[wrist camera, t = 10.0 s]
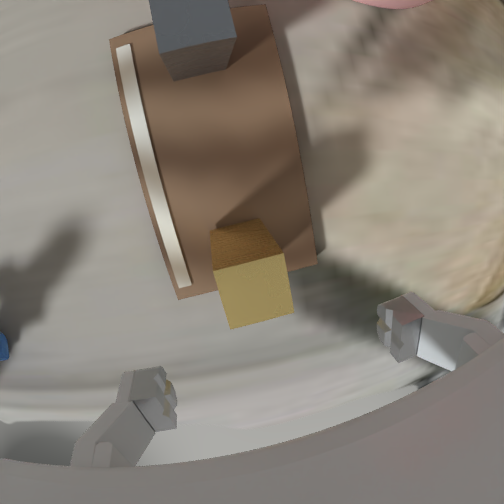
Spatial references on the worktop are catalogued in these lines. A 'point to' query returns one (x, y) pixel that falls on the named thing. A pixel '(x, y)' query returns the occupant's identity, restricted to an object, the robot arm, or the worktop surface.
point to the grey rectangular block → (193, 35)
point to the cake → (394, 3)
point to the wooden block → (250, 273)
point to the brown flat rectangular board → (215, 149)
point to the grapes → (3, 347)
